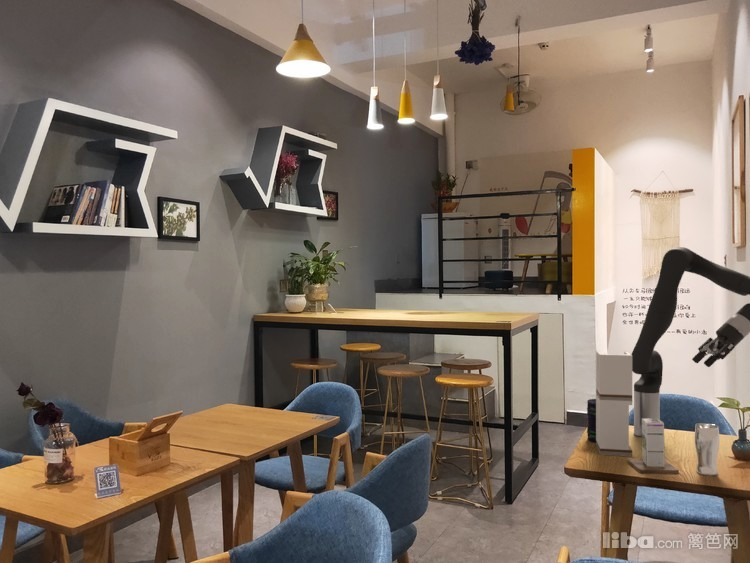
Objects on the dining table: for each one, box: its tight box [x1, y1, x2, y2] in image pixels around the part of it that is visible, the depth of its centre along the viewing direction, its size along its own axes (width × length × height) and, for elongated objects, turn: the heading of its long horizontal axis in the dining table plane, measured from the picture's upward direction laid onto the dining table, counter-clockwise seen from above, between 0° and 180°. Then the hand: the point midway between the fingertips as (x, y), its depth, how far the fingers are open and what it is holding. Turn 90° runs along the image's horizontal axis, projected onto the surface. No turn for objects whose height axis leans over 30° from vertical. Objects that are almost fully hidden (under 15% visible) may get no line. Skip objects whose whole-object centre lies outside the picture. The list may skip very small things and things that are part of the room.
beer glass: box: [694, 422, 720, 477], centre depth 196 cm, size 7×7×15 cm
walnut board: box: [626, 458, 680, 474], centre depth 202 cm, size 12×12×1 cm
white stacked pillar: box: [595, 350, 633, 457], centre depth 221 cm, size 11×11×35 cm
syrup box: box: [641, 418, 666, 467], centre depth 202 cm, size 6×6×14 cm
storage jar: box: [586, 398, 596, 444], centre depth 234 cm, size 10×10×15 cm
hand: (700, 363), depth 212 cm, fingers open, 8 cm apart
